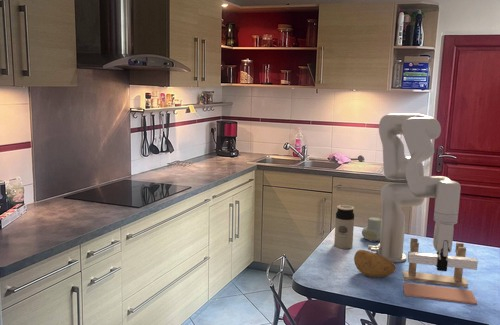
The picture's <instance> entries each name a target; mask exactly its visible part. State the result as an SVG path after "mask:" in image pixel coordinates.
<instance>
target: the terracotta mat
mask: <svg viewBox="0 0 500 325" xmlns="http://www.w3.org/2000/svg"><path fill="white" fill-rule="evenodd" d="M402 285H403V286H402V287H403V293H404V296H405V297H414V298H421V299H428V300H429V299H430V300H438V301H445V302H453V303H460V304H461V303H462V304H469V305H478V302H477V299H476V297H475V295H474V293H473V291H472V290H471V289H470V290H469V289H461V288H452V287H443V286H434V285H427V284H420V283H419V284H418V283H410V282H402Z"/></svg>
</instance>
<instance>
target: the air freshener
mask: <svg viewBox="0 0 500 325" xmlns="http://www.w3.org/2000/svg"><path fill="white" fill-rule="evenodd" d="M380 233H381V218H379V217H374V216H373V217H368V218H367V226H365V227H363V228H362V231H361V235H362V237H363V238H364V239H366V240H367V241H369V242H380Z"/></svg>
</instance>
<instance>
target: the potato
mask: <svg viewBox="0 0 500 325" xmlns="http://www.w3.org/2000/svg"><path fill="white" fill-rule="evenodd" d="M353 261H354V265H355V267H356V269H357V271H359V272H360V274H362V275H364V276H367V277H369V278H385V277H389V276H391V275H393V274H394V273H395V271H396V269H397V267H396V264H395V262H392V261H391V260H389V259H387V258H385V257H383V256H381V255H378V254H376V253H375V252H373V251H371V250H366V249H359V250H357V251H355V254H354V257H353Z"/></svg>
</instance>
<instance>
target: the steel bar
mask: <svg viewBox="0 0 500 325" xmlns="http://www.w3.org/2000/svg"><path fill="white" fill-rule="evenodd" d="M438 259H439V255H438V254H437V253H430V252H429V253H426V252H420V251H418V252H410V250H409V251H408V253H407V263H408V264H409V263H417V265H418V264H419V265H425V266H426V265H427V266H435V265H436V266H437V260H438ZM477 259H478V258H476V257H466V256H465V257H458V256H456V255H448V264H447V268H453V269H455V268H463V270H464V269H465V270H475V271H477V270H478V263H479V261H478V260H477ZM436 266H435V267H436Z"/></svg>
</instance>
